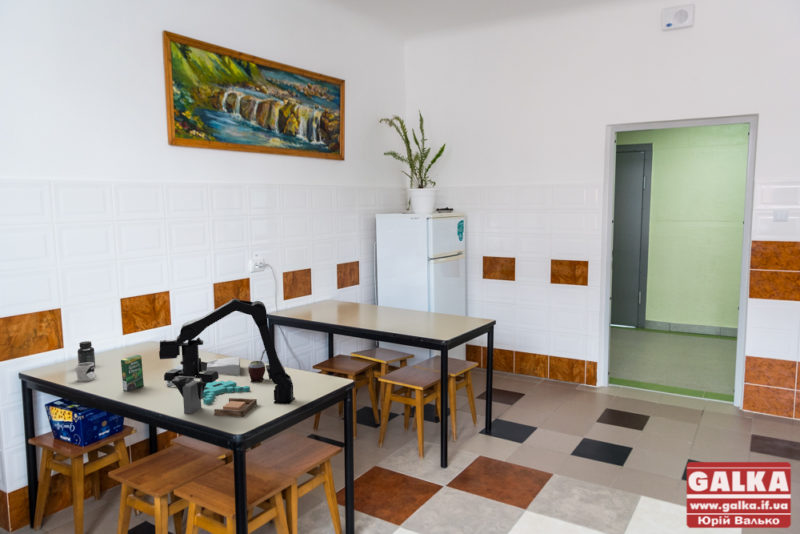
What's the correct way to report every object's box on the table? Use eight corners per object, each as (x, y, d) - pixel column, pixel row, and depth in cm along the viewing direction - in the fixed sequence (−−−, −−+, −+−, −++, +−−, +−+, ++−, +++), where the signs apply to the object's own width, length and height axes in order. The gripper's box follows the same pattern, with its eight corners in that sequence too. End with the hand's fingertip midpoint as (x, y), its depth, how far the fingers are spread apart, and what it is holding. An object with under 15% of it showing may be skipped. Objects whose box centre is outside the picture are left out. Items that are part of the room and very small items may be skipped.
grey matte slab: (201, 407, 219) (199, 381, 218) (191, 414, 212) (190, 387, 211) (193, 407, 220) (192, 381, 219) (184, 413, 213) (182, 386, 212)
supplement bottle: (76, 368, 271) (74, 342, 269) (91, 364, 276) (90, 339, 274) (82, 371, 266) (80, 345, 265) (98, 367, 271) (96, 342, 270)
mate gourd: (245, 380, 251) (244, 346, 249) (261, 376, 256) (260, 343, 254) (255, 384, 245) (253, 349, 244) (271, 380, 251) (270, 346, 249)
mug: (89, 381, 251) (88, 366, 250) (74, 381, 251) (73, 366, 250) (101, 374, 261) (100, 360, 260) (86, 374, 260) (85, 360, 260)
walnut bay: (256, 404, 222) (256, 399, 222) (242, 416, 210) (242, 411, 209) (229, 402, 224) (229, 397, 223) (214, 415, 211) (214, 409, 211)
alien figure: (250, 392, 238) (220, 382, 250) (249, 386, 237) (220, 377, 250) (206, 405, 222) (177, 395, 234) (206, 400, 222) (177, 389, 234)
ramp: (187, 370, 268) (186, 358, 267) (216, 362, 281) (215, 351, 280) (226, 381, 252) (225, 368, 251) (255, 372, 264) (254, 360, 264)
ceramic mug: (187, 378, 254) (186, 361, 253) (196, 383, 248) (194, 365, 247) (163, 384, 246) (161, 367, 245) (171, 389, 241) (169, 371, 240)
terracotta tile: (245, 407, 220) (245, 401, 220) (238, 412, 214) (238, 407, 214) (230, 406, 221) (230, 401, 221) (223, 411, 216) (222, 406, 215)
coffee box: (126, 391, 237) (124, 360, 236) (122, 390, 239) (120, 359, 237) (144, 386, 244) (142, 355, 243) (139, 385, 246) (137, 354, 244)
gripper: (224, 352, 220) (226, 392, 222) (178, 350, 223) (180, 390, 225) (210, 360, 209) (212, 402, 211) (162, 358, 212) (164, 400, 214)
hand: (192, 398), depth 215 cm, fingers open, 6 cm apart
